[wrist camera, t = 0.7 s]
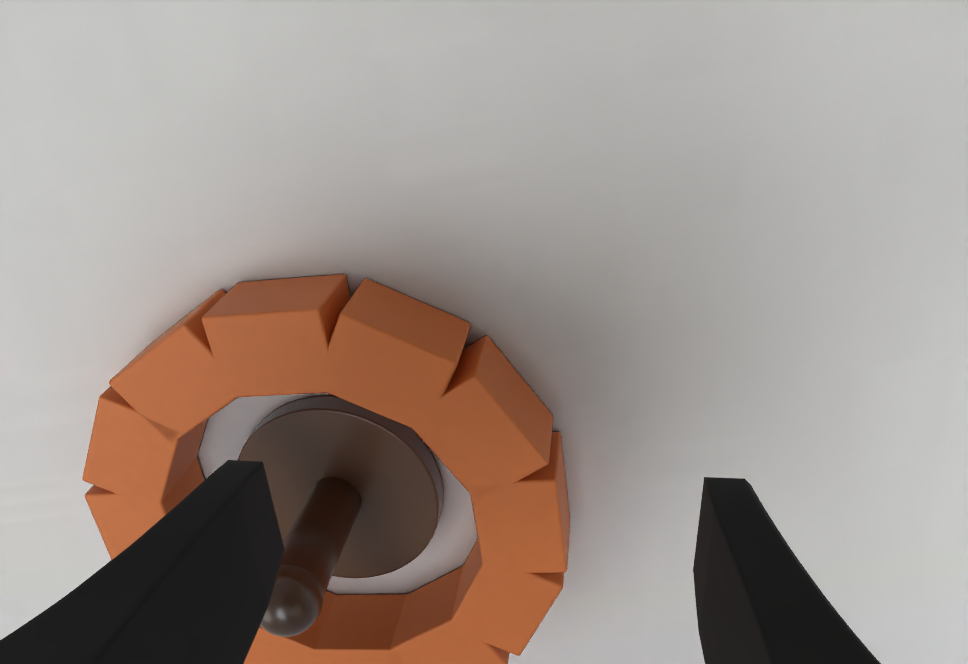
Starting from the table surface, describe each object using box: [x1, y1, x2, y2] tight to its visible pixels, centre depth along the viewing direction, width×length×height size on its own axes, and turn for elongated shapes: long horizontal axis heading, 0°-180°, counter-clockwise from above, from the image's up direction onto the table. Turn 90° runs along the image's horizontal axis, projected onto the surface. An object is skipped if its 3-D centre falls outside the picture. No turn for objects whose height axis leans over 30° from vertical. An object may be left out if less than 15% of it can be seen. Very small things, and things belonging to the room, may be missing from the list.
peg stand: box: [238, 396, 443, 637], centre depth 23 cm, size 6×6×6 cm
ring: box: [82, 274, 570, 664], centre depth 24 cm, size 14×14×2 cm
